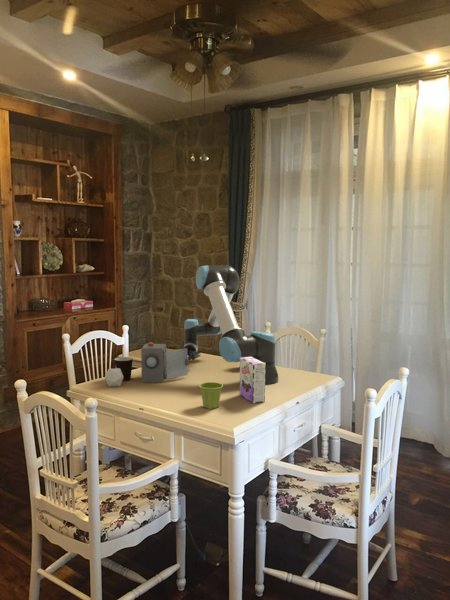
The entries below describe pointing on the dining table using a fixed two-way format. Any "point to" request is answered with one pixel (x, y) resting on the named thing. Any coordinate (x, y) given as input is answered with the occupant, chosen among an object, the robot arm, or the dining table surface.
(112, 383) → the die
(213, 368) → the dining table surface
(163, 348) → the grey inset panel box
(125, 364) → the coffee mug
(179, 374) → the side door
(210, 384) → the plant pot
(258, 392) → the candy box
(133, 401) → the dining table surface
